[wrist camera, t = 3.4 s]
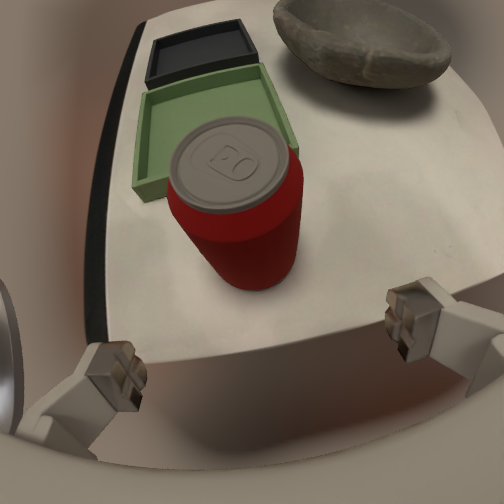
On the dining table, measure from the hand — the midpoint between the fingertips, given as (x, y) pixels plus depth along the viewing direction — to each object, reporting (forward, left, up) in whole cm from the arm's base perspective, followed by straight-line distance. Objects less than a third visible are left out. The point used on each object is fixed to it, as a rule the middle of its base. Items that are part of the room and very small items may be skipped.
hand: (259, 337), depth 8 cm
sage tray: (-2, +23, -13) cm, 26 cm away
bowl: (+19, +31, -13) cm, 38 cm away
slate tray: (-2, +41, -13) cm, 43 cm away
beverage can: (0, +8, -13) cm, 15 cm away
